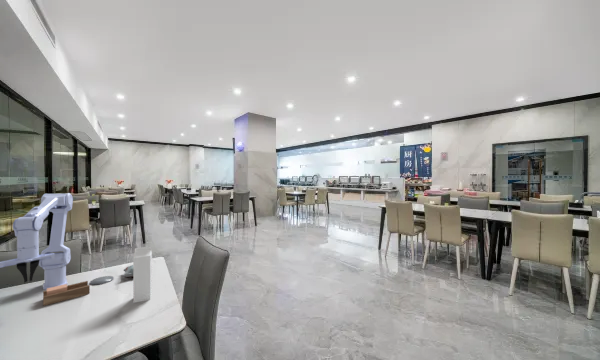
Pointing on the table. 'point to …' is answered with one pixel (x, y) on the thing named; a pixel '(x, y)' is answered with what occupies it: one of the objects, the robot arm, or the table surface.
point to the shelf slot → (67, 293)
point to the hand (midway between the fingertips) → (28, 280)
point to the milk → (142, 274)
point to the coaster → (101, 280)
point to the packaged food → (128, 271)
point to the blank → (56, 289)
